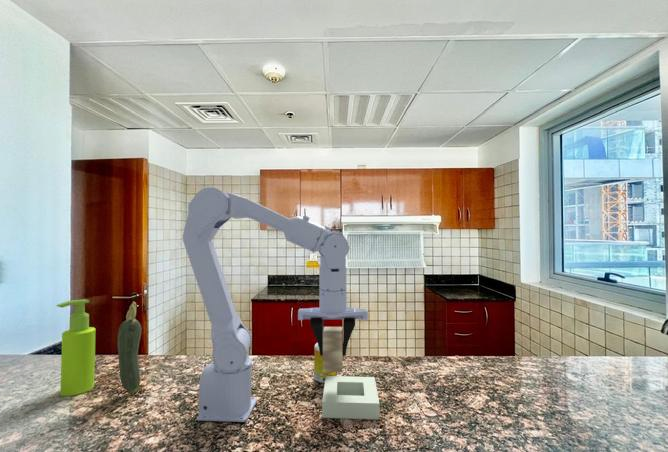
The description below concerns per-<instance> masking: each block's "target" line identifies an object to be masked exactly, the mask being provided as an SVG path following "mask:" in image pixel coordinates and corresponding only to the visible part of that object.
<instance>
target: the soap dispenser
mask: <svg viewBox="0 0 668 452" xmlns="http://www.w3.org/2000/svg"><path fill="white" fill-rule="evenodd" d="M89 303H90V300H89V299H86V298H83V299H73V300H68V301H64V302H61V303H58V304H57V305H56V307H57V308H65V307H68V306H74V313H73V314H71V315H70V316H69V329H67V330H65V331H63V332H62V333H61V359H60V360H61V361H60V362H61V364H60V367H61V368H60V395H61V396H63V397H71V396H72V397H73V396H77V395H81V394H84V393H87V392H88V391H91V390H92V389H93V388H94V387H95V367H96V366H95V365H96V363H95V362H96V334H97V333H96V328H95V327H94V326H90V314H89V313H87V312H85V311H86V309H85V306H86V305H85V304H89Z"/></svg>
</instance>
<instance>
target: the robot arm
mask: <svg viewBox="0 0 668 452" xmlns="http://www.w3.org/2000/svg"><path fill="white" fill-rule="evenodd" d="M187 210H188V212H187V215H186V216H187V217H186V221H185V225H184V228H183V229H184V230H183V234H182V241H183V244H184V248H185V250H186V254H187V256H188V260H189V262H190V266H191V268H192V271H193V274H194V277H195V280H196V282H197V286H198V289H199V291H200V295H201V298H202V301H203V304H204V306H205V310H206V312H207V315H208V319H209V321H210V325H211V326H210V339H211V343H212V347H213V348H212V355H211V356H212V357H211V358H212V363H209V364H207V365H206V366H204V368H203V370H202V372H201V374H200V378H199V382H198V415H197V417H196V421H201V422H202V421H204V422H234V423H235V422H236V423H237V422H238V423H244V422H247V420H248V419H249V417H250V415H251V413H252V411H253V409H254V408H255V406H256V404H257V402H258V398H257V397H252V372H253V371H252V370H253V369H252V362H253V361H252V358H251V357H250V356H249V349H250V347H251V344H252V340H253V339H252V338H253V337H252V333H251V331H250V330H249V329H248V328H247V327H246V326H245V325H244V323H243V322H242V319H241V316H239V314H238V313H237V311H236V308H235V305H234V302H233V299H232V297H231V293H230V291H229V288H228V285H227V282H226V279H225V276H224V273H223V270H222V266H221V264H220V260H219V258H218V255H217V252H216V248H215V246H214V243H213V242H214V241H213V240H214V238H215V236H216V234H217V233H218V231H219V230H220V229H221V227H222V226H223V225H225V224H226V223H227V222H229V220H231V219H232V218H233V219H235V220H236V219H250V220H254V221H256V222H258V223H260V224H263V225H266V226H268V227H270V228H272V229H275V230H277V231H281V232H282V233H283V234H284V237H285V240H286V241H287V242H289V243H291V244H294V245H296V246H297V247H300V248H304V249H305V250H307V251H309V252H312V253H316V252H318V253H319V255H320V258H319V259H320V263H319V273H318V275H319V276H318V277H319V278H318V279H319V282H318V283H319V285H318V286H319V289H318V290H319V292H318V293H319V296H318V297H319V299H318V300H319V307H309V308H299V309H298V311H297V320H298V321H304V320H310V323H309V325H310V328H311V330H312V332H313V334H314V336H315V339H316V343H318V346H319V350H320V355H321V356H323V329H324V327H325V326H324V322H325V320H343V321H342V327H343V349H342V356H343V357H345V356H347V349H348V345H349V340H350V338H351V337H352V333H353V331H354V330H355V327H356V320H357V321H358V320H362V321H364V322H365V321H369V317H368V316H369V311H368V309H367V308H356V307H347V259H346V257H347V255H348V253H350V245H349V242H348V240H347V238H346V237H345V235H343V234H342V233H339V232H336V231H330V229H331V227H330V226H328V225H325V226H322V225H320V224H318V223H315V222H313V221H311V220H310V217H309V216H307V215H305V214H304V215H303V217H302V216H300V215H296V216H294V217H291V218H288V217H286V216H284V215H282V214H281V213H278V212H276V211H274V210H272V209H269V208H268V207H266V206H264V205H262V204H261V203H260V204H259V203H258V202H256V201H253V200H252V199H249V198H247V197H244V196H241V195H238V194H235V193H232V192H229V191H226V194H225V192H223V191H222V190H221V189H219V188H217V187H211V186H210V187H209V186H208V187H204V188H202V189H200V190H199V191H198V192H197V193H196V194H195V195H194V196H193V198H192V199H191V200H190V202H189V203H188V205H187Z"/></svg>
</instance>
